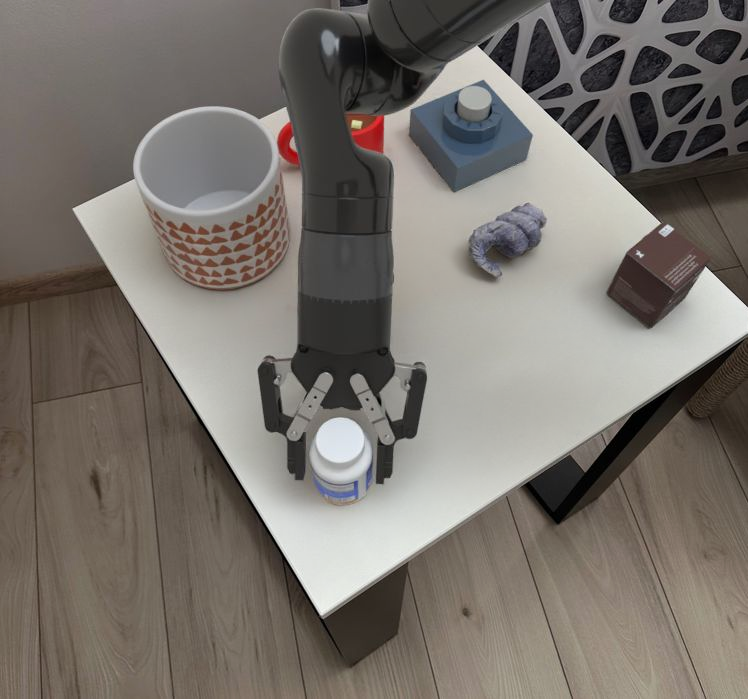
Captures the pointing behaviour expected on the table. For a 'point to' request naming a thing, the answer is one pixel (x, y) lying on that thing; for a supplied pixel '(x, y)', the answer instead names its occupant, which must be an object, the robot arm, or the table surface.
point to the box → (657, 274)
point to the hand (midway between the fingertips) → (340, 478)
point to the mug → (362, 129)
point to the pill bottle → (341, 461)
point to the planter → (215, 195)
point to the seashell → (507, 236)
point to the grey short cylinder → (474, 104)
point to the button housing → (468, 139)
